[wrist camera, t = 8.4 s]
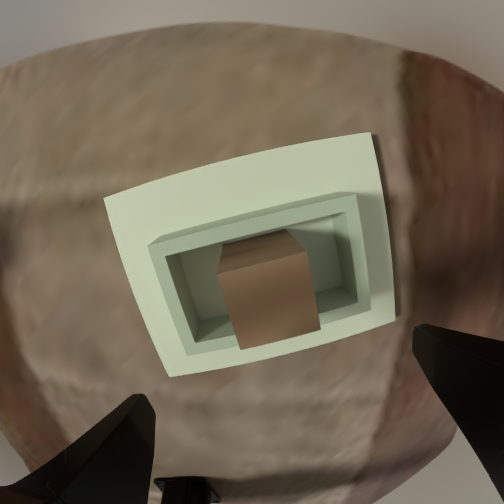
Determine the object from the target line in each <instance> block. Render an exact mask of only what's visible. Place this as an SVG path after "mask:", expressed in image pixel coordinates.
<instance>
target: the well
mask: <svg viewBox="0 0 504 504" xmlns="http://www.w3.org/2000/svg"><path fill="white" fill-rule="evenodd" d="M104 202H105V206H106V209H107V213H108V217H109V220H110V224H111V227H112V230H113V234H114V237H115V240H116V243H117V247H118V250H119V253H120V256H121V259H122V262H123V265H124V268H125V271H126V274H127V277H128V279H129V282H130V285H131V288H132V290H133V293H134V296H135V298H136V301H137V304H138V306H139V309H140V311H141V314H142V316H143V319H144V321H145V324H146V326H147V329H148V331H149V333H150V336H151V338H152V340H153V343H154V345H155V347H156V349H157V352H158V354H159V356H160V358H161V361H162V363H163V365H164V367H165V369H166V371H167V373H168V375H169V377H173V376H180V375H186V374H192V373H198V372H204V371H210V370H215V369H221V368H226V367H231V366H236V365H241V364H245V363H250V362H255V361H259V360H263V359H268V358H272V357H276V356H280V355H284V354H288V353H292V352H296V351H300V350H304V349H307V348H311V347H315V346H318V345H322V344H325V343H328V342H332V341H335V340H339V339H342V338H345V337H348V336H351V335H355V334H358V333H361V332H364V331H367V330H370V329H373V328H376V327H379V326H381V325H384V324H387V323H390V322H393V321H395V300H394V283H393V270H392V258H391V249H390V240H389V231H388V224H387V217H386V210H385V203H384V197H383V191H382V186H381V180H380V175H379V170H378V165H377V160H376V155H375V151H374V146H373V142H372V137H371V133H370V132H368V133H360V134H353V135H347V136H340V137H334V138H328V139H322V140H317V141H311V142H306V143H300V144H295V145H290V146H285V147H280V148H276V149H271V150H267V151H262V152H258V153H253V154H249V155H245V156H241V157H237V158H233V159H229V160H225V161H221V162H217V163H213V164H209V165H206V166H202V167H199V168H195V169H191V170H188V171H185V172H181V173H178V174H174V175H171V176H168V177H165V178H161V179H158V180H155V181H152V182H149V183H146V184H143V185H140V186H137V187H134V188H131V189H128V190H125V191H122V192H119V193H117V194H114V195H111V196H108V197H106V198H104ZM282 229H286V230H287V231H288V232H289V233H290V234H291V235H292V236H293V237H294V238H295V239H296V241H297V242H298V243H299V244H300V245H301V246H302V247H303V248H304V249H305V250H306V251H307V256H308V261H309V266H310V271H311V276H312V281H313V287H314V292H315V297H316V303H317V309H318V314H319V320H320V326H321V330H319V331H315V332H311V333H308V334H304V335H301V336H297V337H293V338H289V339H285V340H281V341H278V342H274V343H269V344H265V345H261V346H257V347H253V348H248V349H244V350H240V348H239V345H238V341H237V338H236V335H235V332H234V329H233V326H232V323H231V320H230V316H229V313H228V310H227V307H226V304H225V300H224V297H223V294H222V291H221V287H220V284H219V281H218V277H217V270H218V265H219V261H220V256H221V252H222V247H223V244H226V243H230V242H234V241H238V240H242V239H246V238H250V237H254V236H258V235H262V234H266V233H270V232H274V231H278V230H282Z"/></svg>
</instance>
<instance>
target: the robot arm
mask: <svg viewBox="0 0 504 504" xmlns="http://www.w3.org/2000/svg"><path fill="white" fill-rule="evenodd" d="M412 350H413V354H414V356H415V357H416V359H417V361H418V363H419V365H420V366H421V368H422V370H423V372H424V374H425V376H426V378H427V379H428V381H429V383H430V385H431V386H432V388H433V390H434V391H435V392H436V394H437V395H438V397H439V398H440V400H441V401H442V403H443V404H444V406H445V407H446V408H447V410H448V411H449V413H450V414H451V416H452V417H453V419H454V420H455V422H456V423H457V425H458V426H459V428H460V429H461V431H462V433H463V434H464V436H465V437H466V439H467V440H468V442H469V443H470V445H471V446H472V448H473V450H474V451H475V453H476V455H477V456H478V458H479V459H480V461H481V463H482V465H483V466H484V468H485V470H486V471H487V473H488V474H489V476H490V478H491V480H492V482H493V484H494V485H495V487H496V489H497V491H498V492H499V494H500V496H501V498H502V500H503V501H504V341H500V340H495V339H490V338H486V337H481V336H476V335H472V334H467V333H463V332H459V331H454V330H450V329H445V328H441V327H437V326H433V325H428V324H421V325H419V326H417V327H415V328H414V329H413V339H412ZM155 421H156V415H155V411H154V409H153V407H152V406H151V404H150V402H149V401H148V399H147V397H146V396H145V395H144V394H142V393H140V394H133V395H131V396H130V397H129V398H127V399H126V400H125V401H124V402H123V403H121V404H120V405H119V406H118V407H117V408H115V409H114V410H113V411H112V412H110V413H109V414H108V415H107V416H106V417H104V418H103V419H102V420H101V421H99V422H98V423H97V424H96V425H95V426H93V427H92V428H91V429H90V430H88V431H87V432H86V433H85V434H83V435H82V436H81V437H80V438H78V439H77V440H76V441H75V442H73V443H72V444H71V445H70V446H68V447H67V448H66V450H63V451H62V452H61V453H59V454H58V455H57V456H55V457H54V458H53V459H51V460H50V461H49V462H47V463H46V464H44V465H43V466H41V467H40V468H38V469H37V470H35V471H34V472H32V473H30V474H29V475H27V476H26V477H24V478H22V479H21V480H19V481H18V482H16V483H14V484H12V485H8V486H0V504H147V502H148V494H149V487H150V479H151V472H152V465H153V458H154V447H155ZM154 484H155V485H156V486H157V487H158V488H159V489H160V490H161V491H162V492H163V493H162V499H161V504H211V503H220V502H221V499H220V498H219V496H218V495H217V494H216V493H215V491H214V490H213V489H212V487H211V486H210V485H209V484H208V482H207V481H206V480H205V479H204V478H179V479H154Z"/></svg>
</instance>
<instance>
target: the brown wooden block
mask: <svg viewBox="0 0 504 504" xmlns="http://www.w3.org/2000/svg"><path fill="white" fill-rule="evenodd" d="M217 277H218V281H219V284H220V287H221V291H222V294H223V297H224V300H225V304H226V307H227V310H228V313H229V316H230V320H231V323H232V326H233V329H234V332H235V335H236V338H237V341H238V345H239V348H240V350H244V349H248V348H253V347H257V346H261V345H265V344H269V343H274V342H278V341H281V340H285V339H289V338H293V337H297V336H301V335H304V334H308V333H311V332H315V331H319V330H321V326H320V320H319V314H318V309H317V303H316V297H315V292H314V287H313V281H312V276H311V271H310V266H309V261H308V256H307V251H306V250H305V249H304V248H303V247H302V246H301V245H300V244H299V243H298V242H297V241H296V239H295V238H294V237H293V236H292V235H291V234H290V233H289V232H288V231H287V230H286V229H282V230H278V231H274V232H270V233H266V234H262V235H258V236H254V237H250V238H246V239H242V240H238V241H234V242H230V243H226V244H223V247H222V252H221V256H220V261H219V265H218V270H217Z"/></svg>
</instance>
